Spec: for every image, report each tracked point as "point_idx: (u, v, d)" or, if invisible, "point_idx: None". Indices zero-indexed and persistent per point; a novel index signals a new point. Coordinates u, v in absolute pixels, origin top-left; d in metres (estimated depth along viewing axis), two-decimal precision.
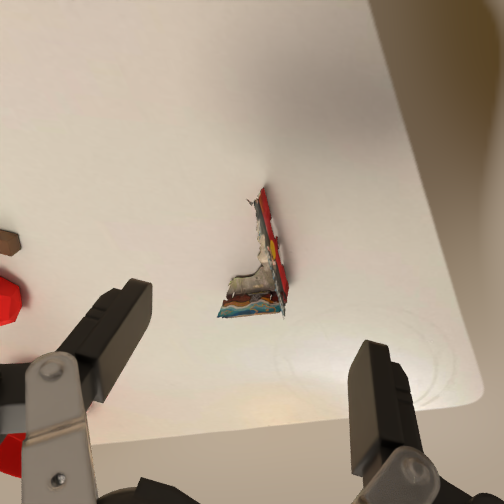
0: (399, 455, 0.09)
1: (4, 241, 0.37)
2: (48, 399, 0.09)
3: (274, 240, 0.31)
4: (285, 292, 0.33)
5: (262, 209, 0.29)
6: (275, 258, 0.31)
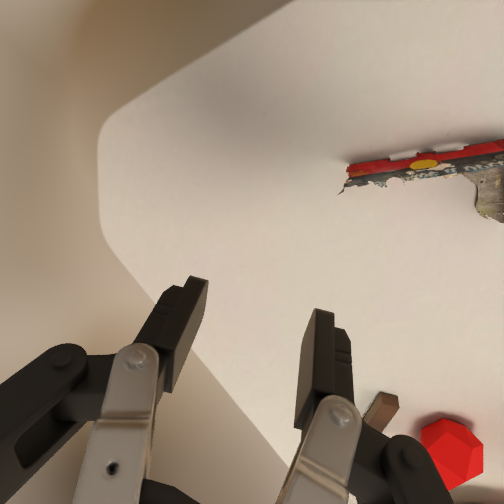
0: (327, 402, 0.10)
1: (381, 405, 0.40)
2: (138, 387, 0.09)
3: (417, 158, 0.25)
4: None
5: (365, 173, 0.25)
6: (438, 161, 0.24)
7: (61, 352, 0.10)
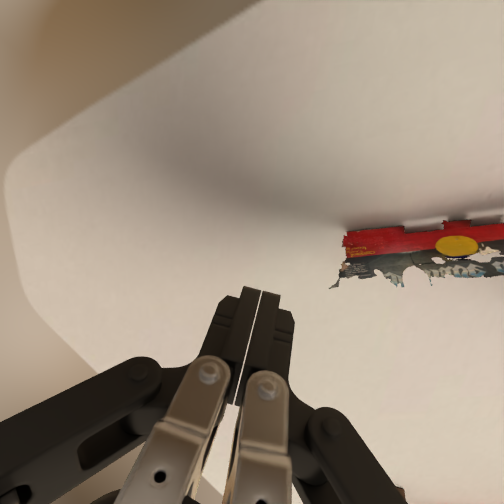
0: (257, 377, 0.10)
1: None
2: (216, 401, 0.09)
3: (445, 231, 0.17)
4: None
5: (369, 252, 0.18)
6: (478, 242, 0.16)
7: (139, 365, 0.10)
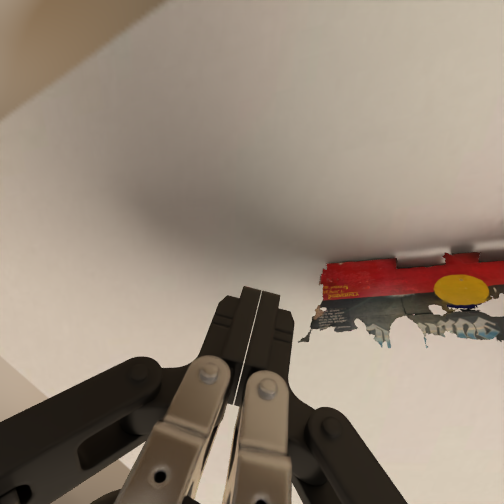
0: (257, 376, 0.10)
1: None
2: (216, 401, 0.09)
3: (446, 267, 0.14)
4: None
5: (351, 293, 0.14)
6: (489, 285, 0.12)
7: (139, 366, 0.10)
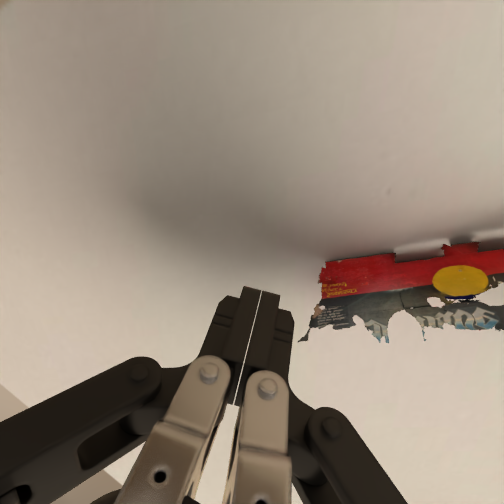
0: (257, 377, 0.10)
1: None
2: (216, 401, 0.09)
3: (445, 259, 0.14)
4: None
5: (349, 290, 0.14)
6: (488, 275, 0.12)
7: (139, 366, 0.10)
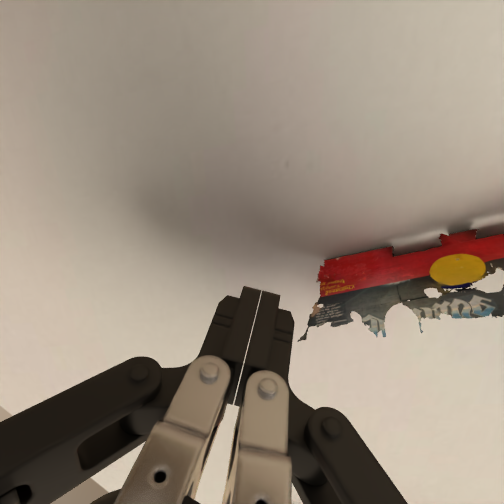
0: (257, 376, 0.10)
1: None
2: (216, 401, 0.09)
3: (443, 249, 0.13)
4: None
5: (347, 286, 0.14)
6: (486, 261, 0.12)
7: (139, 365, 0.10)
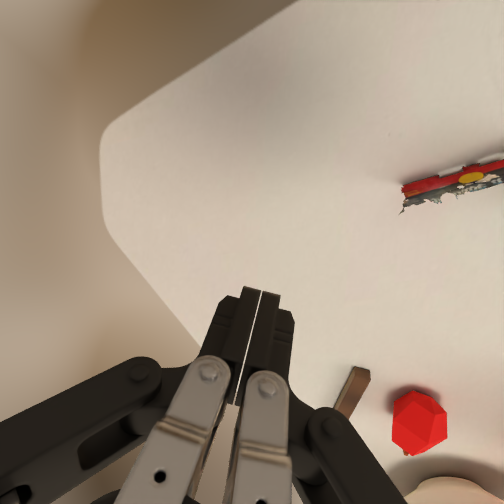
0: (257, 377, 0.10)
1: (354, 377, 0.45)
2: (216, 401, 0.09)
3: (464, 172, 0.29)
4: None
5: (419, 192, 0.30)
6: (483, 173, 0.28)
7: (139, 366, 0.10)
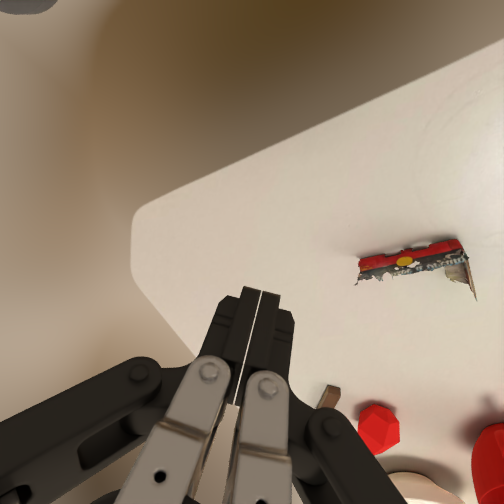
0: (257, 377, 0.10)
1: (328, 394, 0.56)
2: (216, 401, 0.09)
3: (401, 255, 0.41)
4: (452, 248, 0.38)
5: (369, 268, 0.41)
6: (413, 259, 0.39)
7: (139, 365, 0.10)
